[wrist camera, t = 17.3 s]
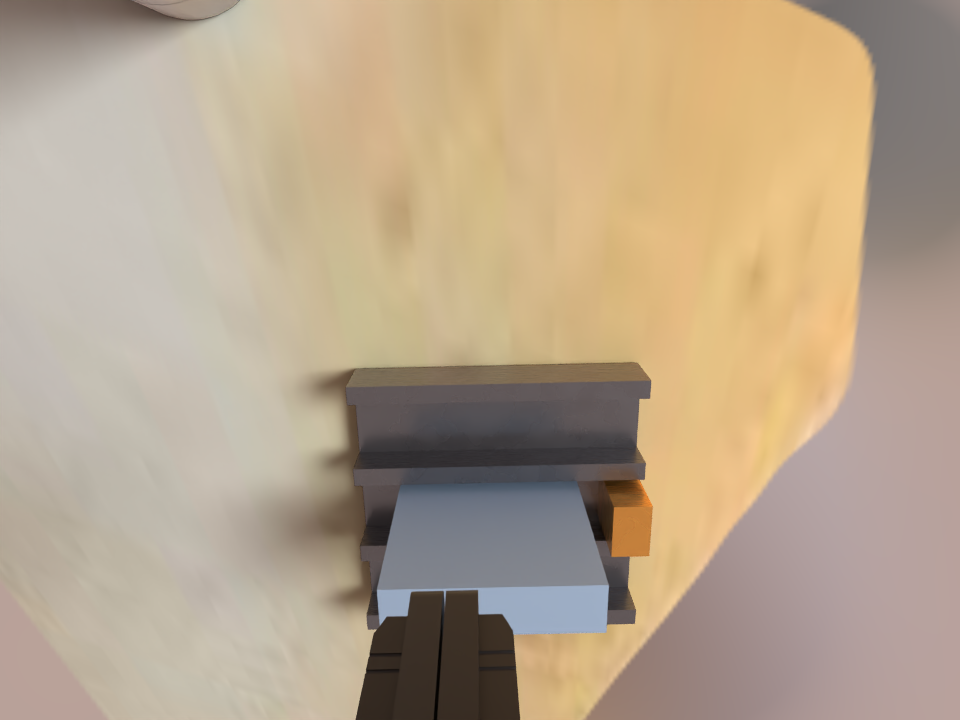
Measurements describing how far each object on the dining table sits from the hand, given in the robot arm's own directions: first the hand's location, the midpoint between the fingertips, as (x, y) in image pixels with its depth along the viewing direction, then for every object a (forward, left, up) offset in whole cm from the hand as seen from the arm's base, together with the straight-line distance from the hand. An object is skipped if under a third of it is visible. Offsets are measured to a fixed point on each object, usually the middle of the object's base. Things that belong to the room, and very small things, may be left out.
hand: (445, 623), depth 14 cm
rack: (+2, -13, -29) cm, 32 cm away
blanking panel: (+1, -13, -28) cm, 31 cm away
